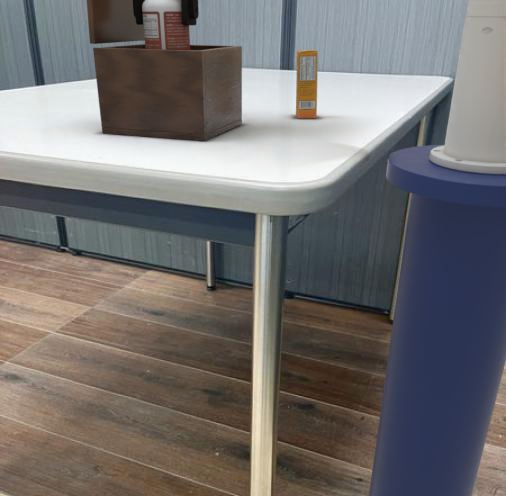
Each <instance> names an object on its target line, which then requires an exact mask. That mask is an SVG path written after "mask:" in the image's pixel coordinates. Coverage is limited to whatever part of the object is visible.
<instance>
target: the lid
mask: <svg viewBox="0 0 506 496" xmlns="http://www.w3.org/2000/svg"><path fill="white" fill-rule="evenodd" d="M86 10H87V11H86V13H87V25H88V37H89V44H90V45H100V44H115V43H128V42H145V38H144V25H137V24H136V18H135V16H134V12H133V0H86Z"/></svg>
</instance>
